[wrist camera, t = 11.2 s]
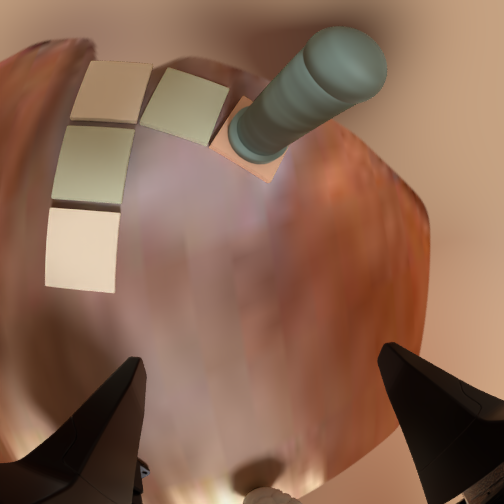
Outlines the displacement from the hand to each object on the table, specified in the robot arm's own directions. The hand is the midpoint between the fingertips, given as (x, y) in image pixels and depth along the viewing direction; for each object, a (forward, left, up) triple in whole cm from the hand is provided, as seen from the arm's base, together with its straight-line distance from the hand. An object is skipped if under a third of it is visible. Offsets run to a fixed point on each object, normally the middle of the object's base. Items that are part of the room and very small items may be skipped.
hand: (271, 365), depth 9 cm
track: (+3, +13, -12) cm, 18 cm away
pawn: (+11, +8, -11) cm, 18 cm away
